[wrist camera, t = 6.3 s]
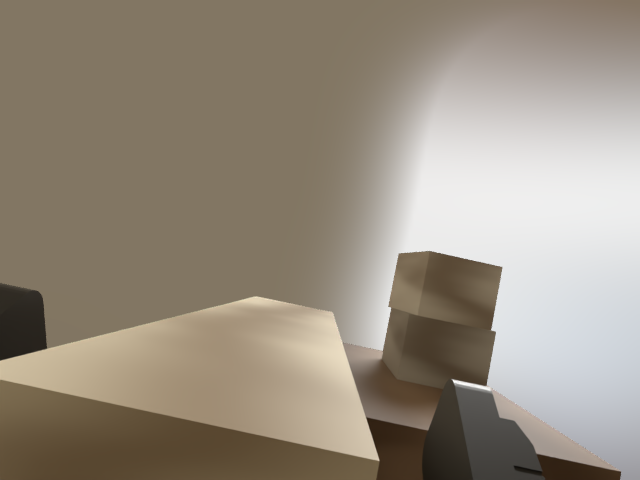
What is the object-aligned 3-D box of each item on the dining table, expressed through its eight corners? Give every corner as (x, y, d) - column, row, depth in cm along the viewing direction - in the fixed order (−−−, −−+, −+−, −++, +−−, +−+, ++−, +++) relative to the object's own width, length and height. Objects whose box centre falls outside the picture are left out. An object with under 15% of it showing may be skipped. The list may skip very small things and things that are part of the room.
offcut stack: (450, 373, 29) (469, 269, 29) (484, 398, 23) (507, 267, 23) (375, 357, 29) (396, 254, 29) (389, 378, 23) (414, 248, 23)
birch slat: (325, 346, 29) (332, 312, 29) (340, 661, 5) (379, 461, 5) (248, 330, 29) (256, 296, 29) (-91, 565, 5) (-41, 370, 5)
